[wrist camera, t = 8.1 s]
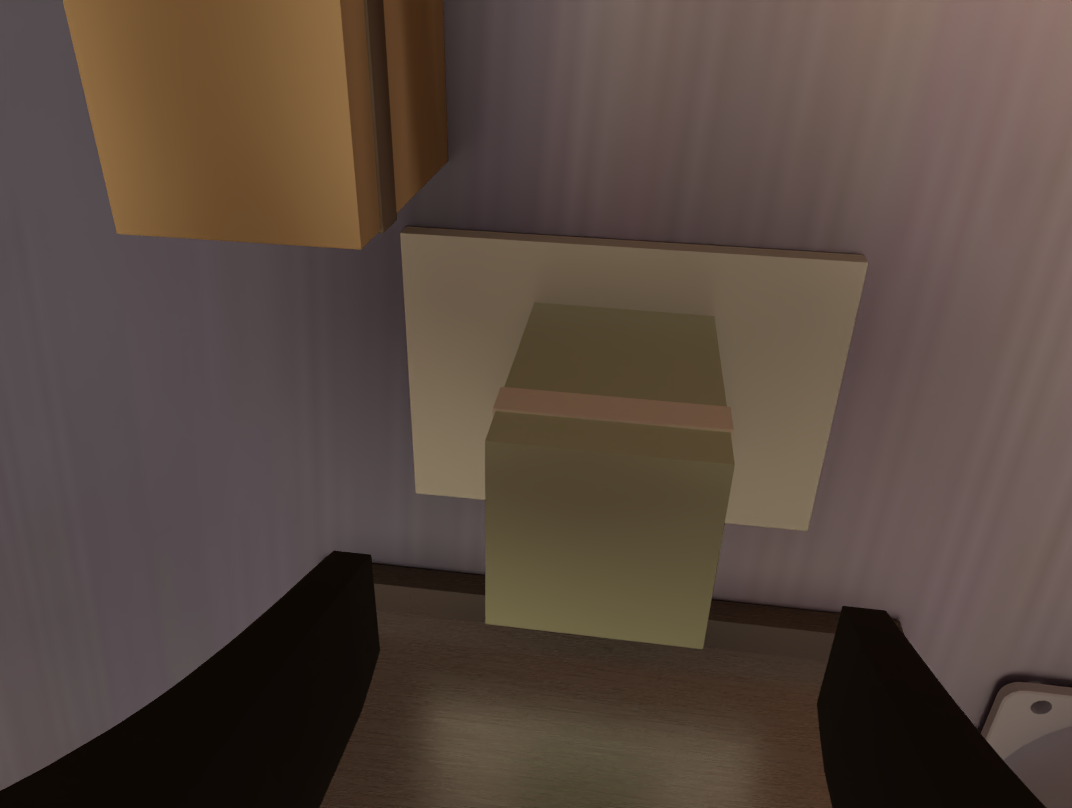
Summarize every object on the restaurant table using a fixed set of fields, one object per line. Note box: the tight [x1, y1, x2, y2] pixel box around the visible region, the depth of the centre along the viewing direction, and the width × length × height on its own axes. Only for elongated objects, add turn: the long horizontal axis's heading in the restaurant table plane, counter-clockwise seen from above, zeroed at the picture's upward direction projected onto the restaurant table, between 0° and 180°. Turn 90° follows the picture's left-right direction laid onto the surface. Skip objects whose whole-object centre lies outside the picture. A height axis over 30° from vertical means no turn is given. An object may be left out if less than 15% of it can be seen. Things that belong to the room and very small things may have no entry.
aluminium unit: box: [319, 564, 904, 808], centre depth 21 cm, size 16×5×7 cm, turn 89°
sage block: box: [485, 302, 735, 649], centre depth 17 cm, size 4×4×6 cm
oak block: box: [63, 0, 448, 250], centre depth 15 cm, size 4×4×6 cm
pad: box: [400, 226, 868, 531], centre depth 20 cm, size 10×7×1 cm
